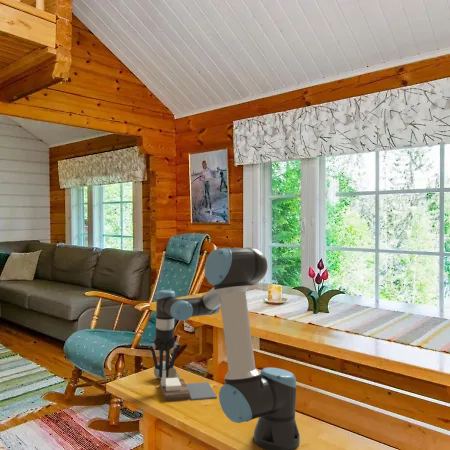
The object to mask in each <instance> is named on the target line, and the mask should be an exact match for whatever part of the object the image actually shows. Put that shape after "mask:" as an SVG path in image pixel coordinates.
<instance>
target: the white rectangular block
mask: <svg viewBox="0 0 450 450" xmlns="http://www.w3.org/2000/svg"><path fill="white" fill-rule="evenodd" d="M179 379H180V378H179V377H177V378H166V386H165V388H166V391H177V390H181V383H180V381H179Z"/></svg>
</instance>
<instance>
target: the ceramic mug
mask: <svg viewBox="0 0 450 450" xmlns="http://www.w3.org/2000/svg"><path fill="white" fill-rule="evenodd" d="M157 364H158V365H159V361H157ZM163 368H165V360H163ZM153 374H154V376H155V377H156V378H157V379H159V380H161V378H160V377H159V369H156V368H155V367H154V369H153ZM177 377H178V378H180V374H179V373H177V368H175V366H173V368H170V369H169V376H168V377H166V378H177Z"/></svg>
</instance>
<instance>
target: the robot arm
mask: <svg viewBox="0 0 450 450" xmlns="http://www.w3.org/2000/svg"><path fill="white" fill-rule="evenodd" d="M268 265H269V264H268V260H267V258H266V257H265V254H264V253H263V252H261V251H260V250H259V249H257V248H253V247H223V248H221V247H220V248H216V249H213V250H212V251H211V252H210V253H209V254H208V256H207V258H206V261H205V264H204V275H205V276H204V277H205V279H206V280H207V282H208V283H209V284H210V285H212V286H213V287H212V288H211V289H210V290H208V291H207V292H206V293H205V294H203V295H202V296H198V297H189V298H188V297H187V298H177V297H176V292H175V291H174V290H171V289H162V290H158V291H157V293H156V300H155V301H156V303H155V304H156V307H155V328H156V329H155V338H154V340H153V341H154V342H153V343H151V344H149V345H148V349H149V350H150V352H151V356H152V360H153V364H154V368H156V369H159V377H160V378H161V379H160V380H161V385H162V386H166V377H168V376H169V369H170V368H173V367H175V366H174V365H175V361H176V359H177V354H178V350H180V348H181V345H180V343H177V342H176V340H175V328H174V327H175V320H176V321H182V322H184V321H188V320H189V319H190V318H195V317H203V316H212V315H216V314H217V313H219V312H220V310H221V319H222V326H223V335H224V343H225V351H226V359H227V360H226V361H227V370H228V372H227V373H226V374H225V376H224V384H223V385H222V386H221V387H220V388H219V392H218V400H219V405H220V407H221V410H222V412H223V414H224V415H225V416H226V418H227V419H229V420H230V421H231V422H232V423H236V424H240V423H245V422H247V423H248V422H249V421H252V420H255V419H257V421H256V425H255V427H254V431H253V441H254V443H255V444H256V445H257V446H259V447H261V448H262V449H265V450H295V449H296V448H298V446H299V445H300V441H301V440H300V439H301V437H300V432H299V431H300V430H299V428H298V425H297V421H296V403H297V402H296V399H297V388H298V387H297V379H296V375H295V374H294V373H293V372H291V371H289V370H286V369H283V368H278V367H264V368H262V369H261V371H260V370H259V369H257V368H256V363H255V362H256V361H255V355H254V347H253V339H252V331H251V324H250V317H249V309H248V308H249V307H248V301H247V295H246V293H247V290H248V289H250V286H251V287H253V286H254V285H256V284H257V283H259V282H261V280H262V279H263V278H264V277H265V276H266V274H267V271H268ZM156 348H157V349H158V352H159V353H158V354H159V355H158V356H159V357H158V359H157V355H156V351H155V349H156ZM172 348H173V350H172V354H171V358H170V351H171V349H172ZM164 351H165V353H164ZM164 354H165V358H164ZM164 359H165V360H164ZM163 361H165V368H163ZM158 362H159V365H158V364H157V363H158Z"/></svg>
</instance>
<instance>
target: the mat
mask: <svg viewBox="0 0 450 450" xmlns="http://www.w3.org/2000/svg"><path fill="white" fill-rule="evenodd" d="M185 384H186V386H187V388H188V390H189V392H190V400H191V401H196V400H197V401H200V400H210V399H218V396H217V395H216V393H215V391H214V390H213V388H212V386H211V385H210V383H209V381H208V382H207V381H205V382H204V381H203V382H193V383H192V382H191V383H185Z"/></svg>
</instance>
